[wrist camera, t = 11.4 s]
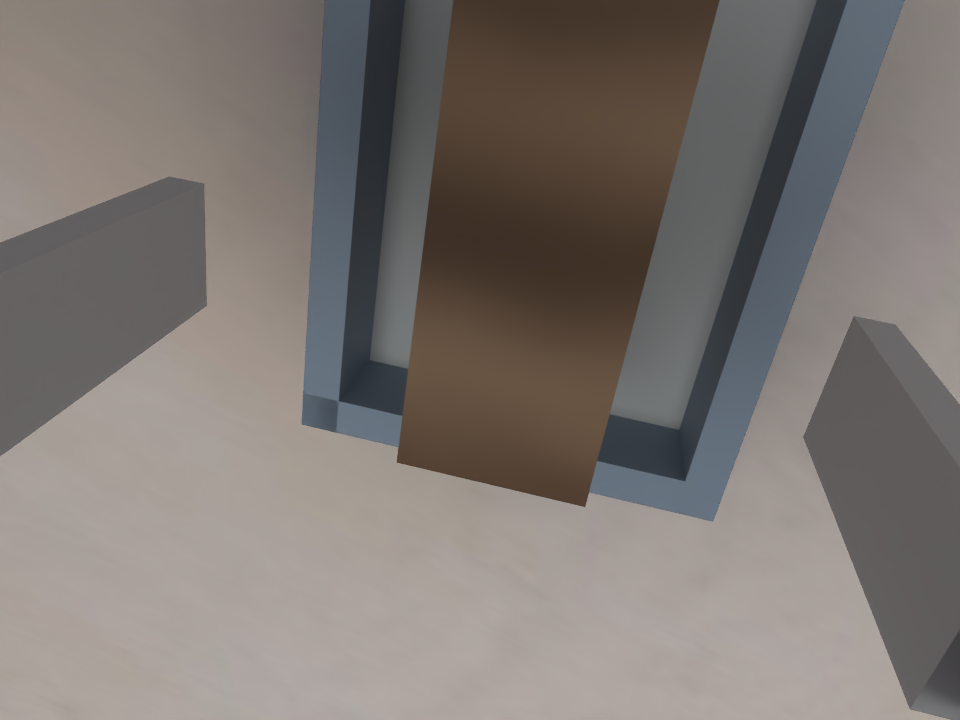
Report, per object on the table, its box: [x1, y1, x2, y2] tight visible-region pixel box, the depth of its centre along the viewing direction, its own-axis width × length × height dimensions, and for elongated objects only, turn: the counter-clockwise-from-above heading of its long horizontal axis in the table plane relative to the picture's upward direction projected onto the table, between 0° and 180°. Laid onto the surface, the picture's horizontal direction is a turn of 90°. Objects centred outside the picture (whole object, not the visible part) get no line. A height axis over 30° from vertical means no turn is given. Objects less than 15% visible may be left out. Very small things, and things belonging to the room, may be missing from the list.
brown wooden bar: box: [397, 0, 720, 507], centre depth 23 cm, size 15×6×7 cm, turn 171°
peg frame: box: [302, 0, 904, 521], centre depth 27 cm, size 24×18×5 cm
